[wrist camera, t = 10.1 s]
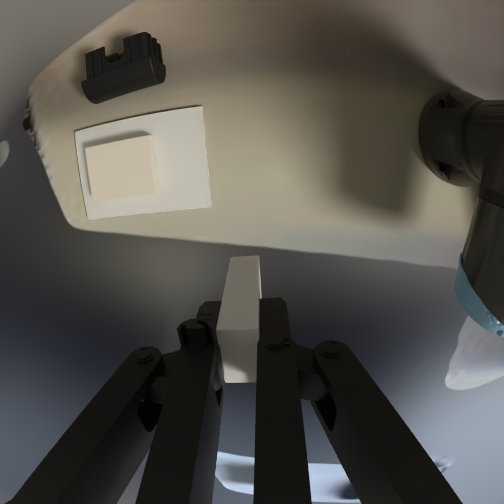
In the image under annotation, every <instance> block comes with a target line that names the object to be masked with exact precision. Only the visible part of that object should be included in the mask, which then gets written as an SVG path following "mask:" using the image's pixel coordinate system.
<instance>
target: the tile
mask: <svg viewBox="0 0 504 504" xmlns="http://www.w3.org/2000/svg"><path fill="white" fill-rule="evenodd" d="M85 153H86V161H87V168H88V175H89V181H90V187H91V193H92V199H93V202H98V201H105V200H112V199H119V198H126V197H134V196H142V195H151V194H156V193H157V192H159V188H158V180H157V173H156V164H155V156H154V147H153V137H152V135H147V136H141V137H136V138H130V139H125V140H120V141H115V142H111V143H106V144H101V145H97V146H93V147H88V148H85Z"/></svg>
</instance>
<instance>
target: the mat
mask: <svg viewBox="0 0 504 504" xmlns="http://www.w3.org/2000/svg"><path fill="white" fill-rule="evenodd" d="M147 135H152V137H153V147H154V156H155V164H156V173H157V180H158V188H159V192H157V193H156V194H151V195H142V196H134V197H126V198H119V199H112V200H105V201H98V202H93V199H92V193H91V187H90V181H89V175H88V168H87V161H86V153H85V148H88V147H93V146H97V145H101V144H106V143H111V142H115V141H120V140H125V139H130V138H136V137H141V136H147ZM75 139H76V148H77V156H78V164H79V171H80V178H81V184H82V190H83V196H84V201H85V206H86V212H87V217H88V220H90V219H98V218H107V217H115V216H124V215H133V214H143V213H153V212H163V211H174V210H185V209H197V208H209V207H212V201H211V191H210V181H209V171H208V161H207V150H206V139H205V127H204V115H203V106H199V107H191V108H184V109H178V110H171V111H165V112H159V113H154V114H148V115H143V116H138V117H133V118H128V119H124V120H119V121H115V122H111V123H106V124H102V125H98V126H94V127H91V128H87V129H83V130H80V131H76V132H75Z"/></svg>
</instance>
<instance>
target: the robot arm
mask: <svg viewBox="0 0 504 504" xmlns="http://www.w3.org/2000/svg"><path fill="white" fill-rule="evenodd" d="M419 141H420V146H421V150H422V153H423V156H424V158H425V161H426V162H427V164H428V166H429V167H430V169H431V170H432V171H433V173H434V174H435V175H436V176H437V177H439V178H440V179H441V180H443V181H445V182H447V183H450V184H452V185H455V186H459V187H470V186H476V185H480V187H479V192H478V196H477V200H476V205H475V209H474V213H473V217H472V221H471V225H470V228H469V232H468V235H467V239H466V242H465V245H464V248H463V251H462V253H461V254H460V258H459V266H458V270H457V273H456V276H455V280H454V290H455V293H456V297H457V300H458V301H459V303H460V305H461V306H462V308H463V309H464V311H465V312H466V313H467V314H468V315H469V316H470V317H471V318H472V319H473V320H474V321H475V322H476V323H477V324H479V325H480V326H481V327H483V328H484V329H486V330H487V331H489V332H491V333H493V334H494V333H497V334H498V335H499V336H501V337H504V100H484V99H481V98H479V97H477V96H475V95H473V94H471V93H468V92H466V91H462V90H448V91H442V92H440V93H438V94H436V95H434V96H433V97H432V98H431V99H430V100H429V101H428V102H427V104H426V106H425V107H424V109H423V112H422V115H421V118H420V124H419ZM177 330H178V335H179V338H180V342H181V348H180V350H178V351H175V352H172V353H167V354H161V352H160V351H159V350H158V349H157V348H155V347H150V346H146V347H141V348H139V349H136V350H134V351H133V352H132V353H131V354H130V355H129V356H128V357H127V359H126V360H125V361H124V362H123V363H122V364H121V366H120V367H119V368H118V369H117V370H116V371H115V373H114V374H113V375H112V376H111V378H110V379H109V380H108V381H107V382H106V383H105V385H104V386H103V387H102V388H101V389H100V391H99V392H98V393H97V394H96V395H95V397H94V398H93V399H92V400H91V401H90V403H89V404H88V405H87V406H86V407H85V409H84V410H83V411H82V412H81V413H80V415H79V416H78V417H77V418H76V420H75V421H74V422H73V423H72V425H71V426H70V427H69V428H68V429H67V431H66V432H65V433H64V434H63V435H62V437H61V438H60V439H59V440H58V442H57V443H56V444H55V446H54V447H53V448H52V449H51V450H50V452H49V453H48V454H47V455H46V457H45V458H44V459H43V460H42V462H41V463H40V464H39V465H38V467H37V468H36V469H35V471H34V472H33V473H32V474H31V476H30V477H29V478H28V480H27V481H26V482H25V483H24V485H23V486H22V487H21V489H20V490H19V491H18V492H17V494H16V495H15V496H14V498H13V499H12V500H10V501H8V502H7V503H5V504H117V502H118V500H119V499H120V497H121V495H122V494H123V492H124V490H125V489H126V487H127V485H128V484H129V482H130V481H131V479H132V477H133V476H134V474H135V472H136V471H137V469H138V467H139V466H140V464H141V462H142V461H143V459H144V457H145V456H146V454H147V453H148V451H149V449H150V451H149V455H148V459H147V462H146V466H145V470H144V473H143V477H142V481H141V484H140V488H139V492H138V496H137V500H136V504H212V497H213V487H214V478H215V469H216V460H217V451H218V443H219V434H220V425H221V416H222V407H223V399H224V387H223V377H224V379H225V382H226V383H234V382H256V425H255V464H254V503H253V504H312V502H311V491H310V481H309V471H308V461H307V451H306V442H305V433H304V425H303V415H302V407H301V399H305V400H310V402H311V405H312V407H313V409H314V411H315V413H316V415H317V417H318V419H319V421H320V423H321V425H322V427H323V429H324V431H325V433H326V435H327V437H328V439H329V441H330V443H331V445H332V447H333V449H334V451H335V453H336V454H337V457H338V459H339V461H340V463H341V465H342V467H343V468H344V470H345V472H346V474H347V476H348V478H349V480H350V482H351V484H352V486H353V488H354V490H355V492H356V494H357V496H358V498H359V500H360V502H361V503H362V504H463V503H462V502H461V501H460V499H459V498H458V496H457V495H456V493H455V492H454V491H453V489H452V488H451V486H450V485H449V483H448V482H447V481H446V479H445V478H444V476H443V475H442V473H441V472H440V471H439V469H438V468H437V466H436V465H435V464H434V462H433V461H432V459H431V458H430V457H429V455H428V454H427V453H426V451H425V450H424V448H423V447H422V446H421V444H420V443H419V441H418V440H417V439H416V437H415V436H414V435H413V433H412V432H411V430H410V429H409V428H408V426H407V425H406V424H405V422H404V421H403V419H402V418H401V417H400V415H399V414H398V413H397V411H396V410H395V409H394V407H393V406H392V404H391V403H390V402H389V400H388V399H387V398H386V396H385V395H384V394H383V392H382V391H381V390H380V388H379V387H378V386H377V384H376V383H375V382H374V380H373V379H372V378H371V376H370V375H369V374H368V372H367V371H366V370H365V368H364V367H363V366H362V364H361V363H360V362H359V360H358V359H357V358H356V356H355V355H354V354H353V352H352V351H351V350H350V348H349V347H348V346H347V345H345V344H344V343H342V342H340V341H335V340H329V341H323V342H321V343H319V344H318V345H317V346H316V347H315V349H311V348H306V347H302V346H299V345H298V344H296V343H295V342H294V341H293V340H292V338H291V333H290V326H289V318H288V311H287V304H286V302H285V301H284V300H283V299H282V298H281V297H280V298H261V283H260V268H259V256H246V257H231V260H230V265H229V270H228V274H227V279H226V285H225V289H224V294H223V299H222V301H206V302H204V303H203V304H202V305H201V306H200V308H199V310H198V313H197V316H196V318H195V319H189V320H187V321H184V322H183V323H181V324H180V325H179V326H178V328H177Z"/></svg>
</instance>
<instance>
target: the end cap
mask: <svg viewBox="0 0 504 504" xmlns="http://www.w3.org/2000/svg"><path fill="white" fill-rule="evenodd" d="M123 42H124V53H123V54H120V55H119V54H118V53H116V54H113V55H110V56H108V57H106V56H105V47H101V48H99V49H96V50H94V51H92V52H89V53H87V54H86V55H85V59H86V70H87V80H85V81H82V82H81V83H82V88H83V91H84V93H85V95H86V97H87V98H88V100H89V101H90V102H92V103H94V104H99V103H101V102H104V101H107V100H110V99H113V98H115V97H118V96H121V95H124V94H127V93H131V92H134V91H137V90H140V89H143V88H147V87H150V86H154V85H157V84H161V83H163V82H164V80H165V77H166V68H165V65H164V64H163V60H162V53H161V46H160V44H158V43H157V39H155V38H154V37H153V38H151V35H150V34H149V33H147V32H142V33H139V34H136V35H133V36H130V37H127V38H124V39H123Z"/></svg>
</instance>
